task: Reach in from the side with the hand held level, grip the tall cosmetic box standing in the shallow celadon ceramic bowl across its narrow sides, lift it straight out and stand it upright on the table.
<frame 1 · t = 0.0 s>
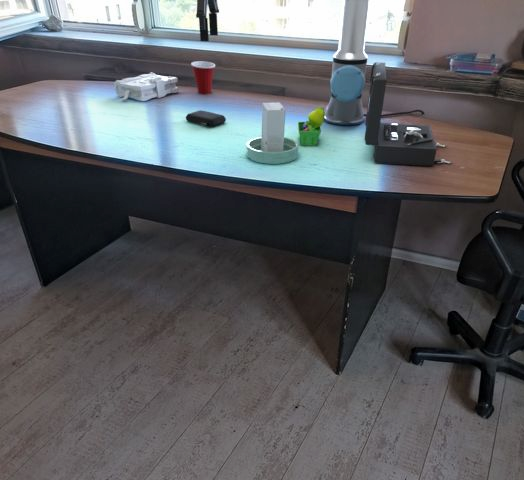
hand: (209, 38, 167), 28 cm above the table, tool pointing down, fingers open, 13 cm apart
cosmetic box: (272, 155, 158), resting on bowl
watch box: (403, 152, 161), on the table
bowl: (272, 156, 158), on the table
carrying case: (205, 123, 186), on the table
plastic cup: (205, 93, 224), on the table
white irregular flat block: (144, 96, 219), on the table
fruit basket: (309, 142, 169), on the table
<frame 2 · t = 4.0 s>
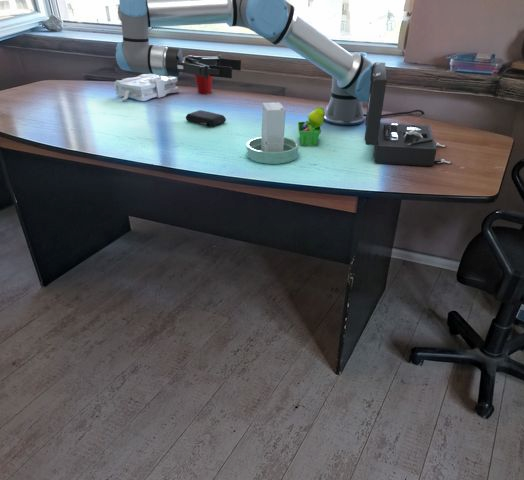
hand: (236, 69, 144), 24 cm above the table, tool horizontal, fingers open, 13 cm apart
nothing on the table moved.
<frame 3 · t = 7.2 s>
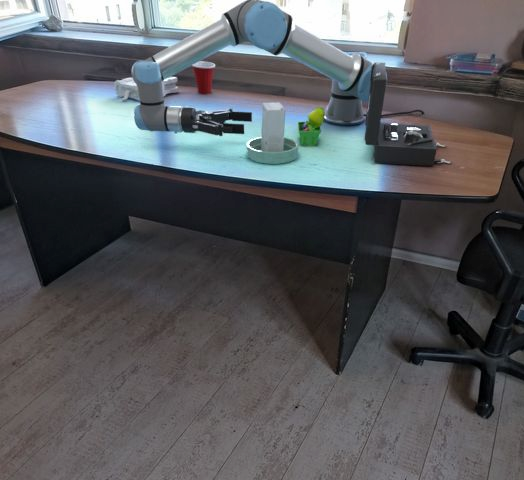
hand: (248, 122, 152), 10 cm above the table, tool horizontal, fingers open, 13 cm apart
nothing on the table moved.
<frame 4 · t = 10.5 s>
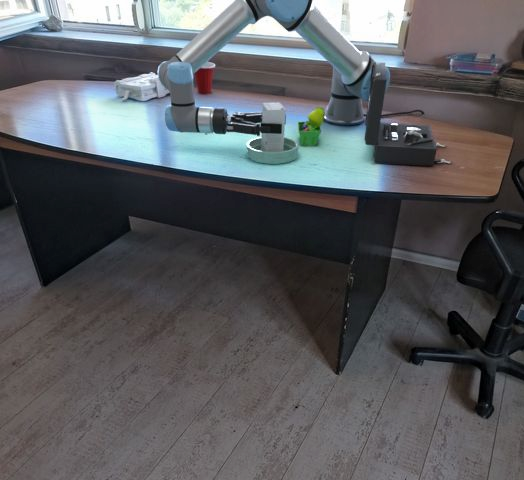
hand: (283, 124, 151), 10 cm above the table, tool horizontal, fingers closed on cosmetic box, 9 cm apart
cosmetic box: (272, 155, 158), resting on bowl, touching gripper
everything else where it was.
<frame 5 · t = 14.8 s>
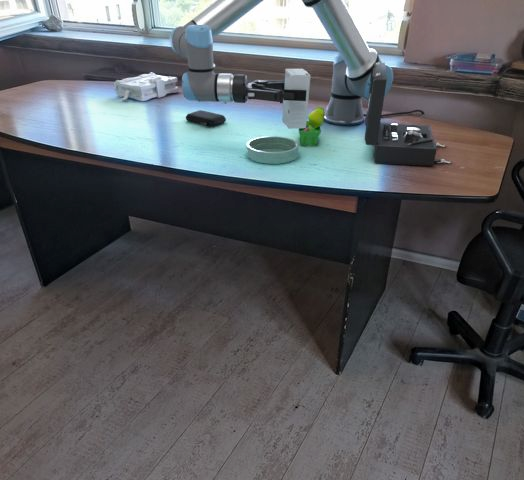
hand: (307, 91, 143), 20 cm above the table, tool horizontal, fingers closed on cosmetic box, 9 cm apart
cosmetic box: (294, 125, 149), point 10 cm above the table, touching gripper
everything else where it was.
when the fingers open (10 cm above the table, at t = 19.5 s): cosmetic box stays where it is, on the table.
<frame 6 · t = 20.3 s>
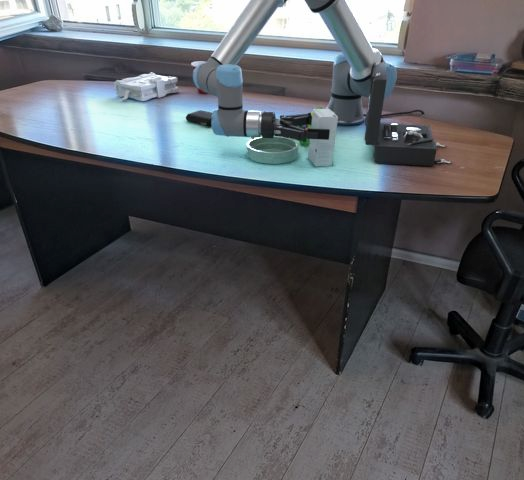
hand: (330, 127, 147), 10 cm above the table, tool horizontal, fingers open, 13 cm apart
cosmetic box: (320, 162, 154), on the table
everything else where it was.
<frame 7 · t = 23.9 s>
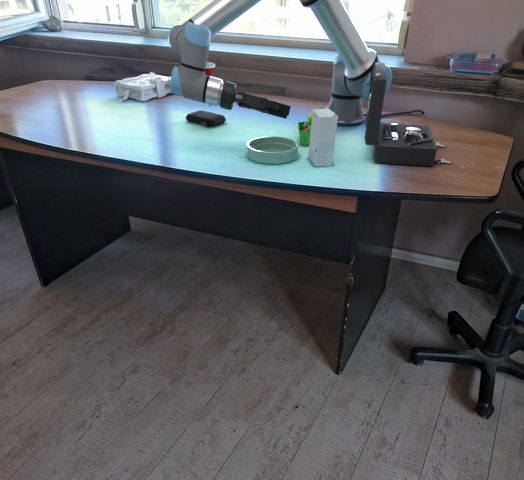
hand: (288, 112, 149), 13 cm above the table, tool horizontal, fingers open, 13 cm apart
nothing on the table moved.
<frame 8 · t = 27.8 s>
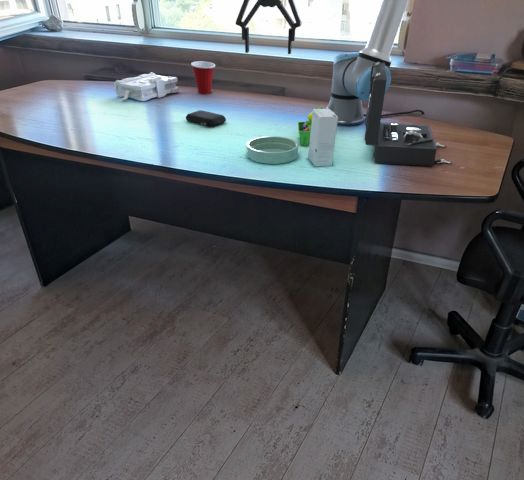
hand: (268, 52, 153), 27 cm above the table, tool pointing down, fingers open, 13 cm apart
nothing on the table moved.
at the end: cosmetic box inside the target area (1.0 cm from its centre), on the table; cosmetic box touching table; cosmetic box tilted 0° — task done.
